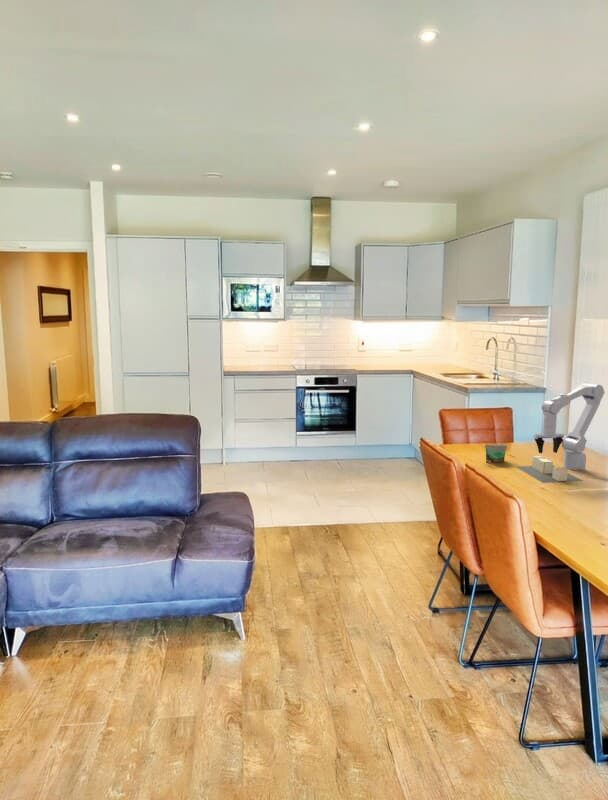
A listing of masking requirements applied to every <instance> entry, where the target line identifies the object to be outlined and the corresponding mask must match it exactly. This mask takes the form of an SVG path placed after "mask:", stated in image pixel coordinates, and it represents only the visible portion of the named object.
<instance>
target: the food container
mask: <svg viewBox="0 0 608 800" xmlns="http://www.w3.org/2000/svg"><path fill="white" fill-rule="evenodd" d="M484 449H485V462H486V463H487V464H490V465H491V463H492V464H494V463H495V464H502V463H505V457H506V451H507V449H508V445H507V443H506V442H504V443H503V444H487V443H486V444H485V445H484Z"/></svg>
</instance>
